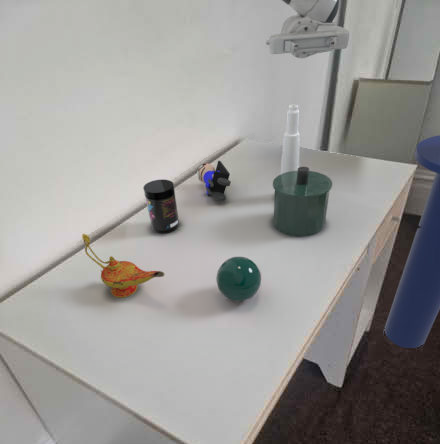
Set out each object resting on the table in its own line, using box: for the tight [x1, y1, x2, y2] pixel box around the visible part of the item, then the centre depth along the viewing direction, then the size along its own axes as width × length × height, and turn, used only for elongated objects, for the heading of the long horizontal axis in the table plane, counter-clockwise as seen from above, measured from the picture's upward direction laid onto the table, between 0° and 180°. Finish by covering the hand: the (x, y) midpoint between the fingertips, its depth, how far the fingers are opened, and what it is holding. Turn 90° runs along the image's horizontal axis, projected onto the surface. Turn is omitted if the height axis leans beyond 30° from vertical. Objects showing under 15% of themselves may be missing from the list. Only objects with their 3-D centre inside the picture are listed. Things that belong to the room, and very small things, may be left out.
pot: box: [273, 189, 330, 237], centre depth 83 cm, size 12×12×10 cm
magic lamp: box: [81, 233, 165, 299], centre depth 68 cm, size 7×18×11 cm, turn 63°
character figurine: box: [196, 160, 232, 202], centre depth 98 cm, size 8×7×15 cm
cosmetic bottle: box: [279, 103, 301, 175], centre depth 89 cm, size 6×6×22 cm
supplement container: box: [142, 179, 180, 234], centre depth 85 cm, size 7×7×10 cm
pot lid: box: [272, 166, 333, 198], centre depth 79 cm, size 13×13×4 cm
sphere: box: [215, 256, 262, 302], centre depth 66 cm, size 8×8×8 cm
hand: (314, 46), depth 91 cm, fingers open, 8 cm apart
